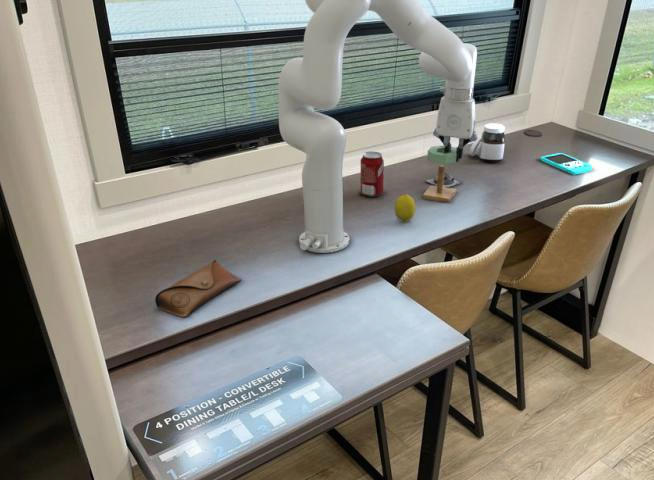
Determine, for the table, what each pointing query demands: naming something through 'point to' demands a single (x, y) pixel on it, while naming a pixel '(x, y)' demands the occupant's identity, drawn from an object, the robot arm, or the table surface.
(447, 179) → the donut
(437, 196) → the post
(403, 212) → the lemon
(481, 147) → the spread jar
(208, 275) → the sunglasses case
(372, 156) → the soda can
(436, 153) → the ring
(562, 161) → the handheld game console
